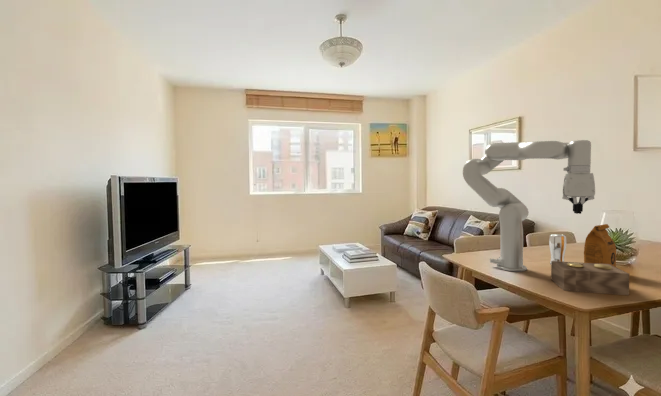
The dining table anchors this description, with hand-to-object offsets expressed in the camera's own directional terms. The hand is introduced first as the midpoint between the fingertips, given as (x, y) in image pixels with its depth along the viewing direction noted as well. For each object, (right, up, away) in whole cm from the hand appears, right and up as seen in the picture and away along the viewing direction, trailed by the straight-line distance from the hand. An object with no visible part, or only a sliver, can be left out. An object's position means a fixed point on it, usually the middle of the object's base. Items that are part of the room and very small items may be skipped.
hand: (577, 213), depth 131 cm
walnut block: (-3, -29, -8) cm, 30 cm away
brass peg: (-7, -28, -7) cm, 29 cm away
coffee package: (+18, -28, +10) cm, 35 cm away
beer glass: (+10, -27, +25) cm, 38 cm away
